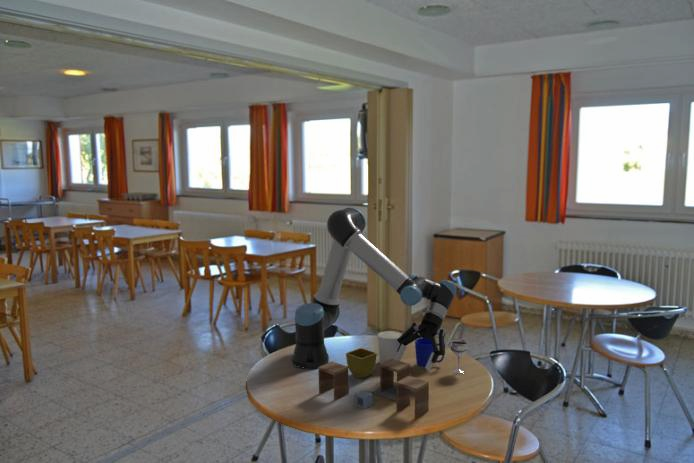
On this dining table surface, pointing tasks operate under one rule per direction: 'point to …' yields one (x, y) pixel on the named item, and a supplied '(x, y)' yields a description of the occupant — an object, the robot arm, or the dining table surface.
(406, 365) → the cover middle
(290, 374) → the dining table surface
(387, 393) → the mat
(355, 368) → the flower pot
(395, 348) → the candle holder
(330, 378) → the cover left
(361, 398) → the cube
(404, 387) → the cover right
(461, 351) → the wineglass
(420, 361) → the mug
